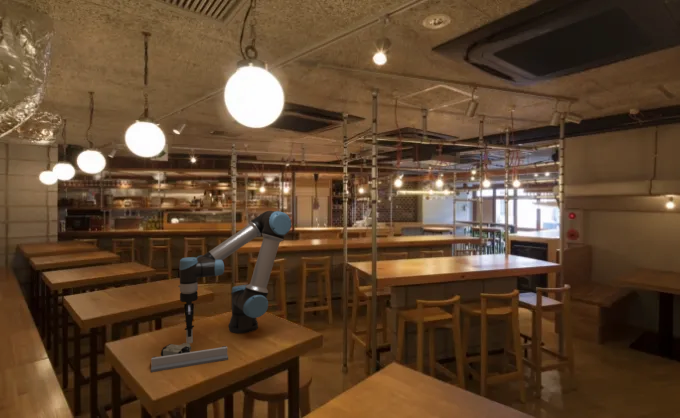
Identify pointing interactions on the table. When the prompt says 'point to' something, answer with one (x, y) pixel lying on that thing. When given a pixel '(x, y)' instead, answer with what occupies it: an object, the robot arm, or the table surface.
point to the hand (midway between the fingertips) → (189, 342)
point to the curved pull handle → (188, 359)
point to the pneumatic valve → (175, 349)
